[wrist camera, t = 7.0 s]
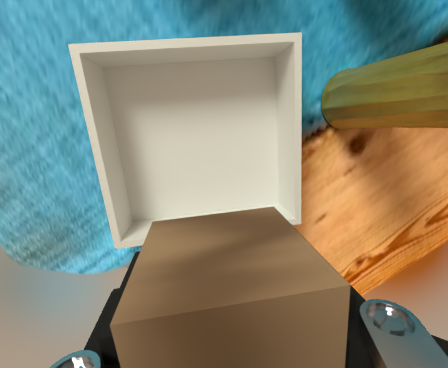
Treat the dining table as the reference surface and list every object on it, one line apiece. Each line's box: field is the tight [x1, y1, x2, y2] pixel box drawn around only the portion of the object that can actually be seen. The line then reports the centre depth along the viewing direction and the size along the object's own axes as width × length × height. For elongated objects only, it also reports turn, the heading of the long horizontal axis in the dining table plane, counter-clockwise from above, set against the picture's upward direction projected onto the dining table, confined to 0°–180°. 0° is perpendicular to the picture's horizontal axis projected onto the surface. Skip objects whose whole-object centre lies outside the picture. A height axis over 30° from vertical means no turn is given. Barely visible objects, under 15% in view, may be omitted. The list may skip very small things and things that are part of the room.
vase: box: [321, 42, 448, 130], centre depth 18 cm, size 6×6×14 cm
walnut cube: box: [110, 206, 350, 368], centre depth 8 cm, size 5×5×5 cm
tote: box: [68, 32, 302, 249], centre depth 22 cm, size 17×16×5 cm
